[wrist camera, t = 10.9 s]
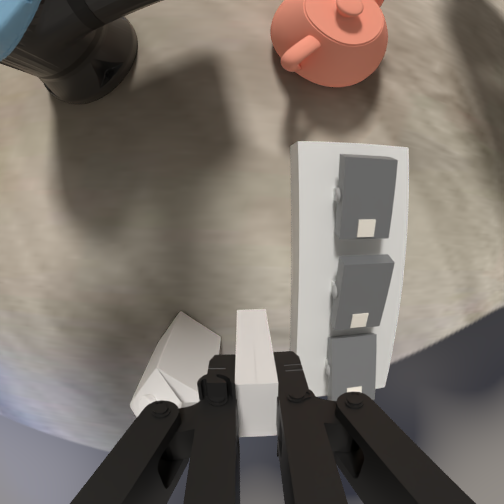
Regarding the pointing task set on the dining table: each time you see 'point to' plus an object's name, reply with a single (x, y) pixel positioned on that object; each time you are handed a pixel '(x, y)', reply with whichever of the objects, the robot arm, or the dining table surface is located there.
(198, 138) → the dining table surface
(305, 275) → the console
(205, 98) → the dining table surface
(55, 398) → the dining table surface
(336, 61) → the teapot
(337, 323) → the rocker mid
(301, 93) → the dining table surface
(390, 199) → the plate
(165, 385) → the milk carton
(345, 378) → the rocker
